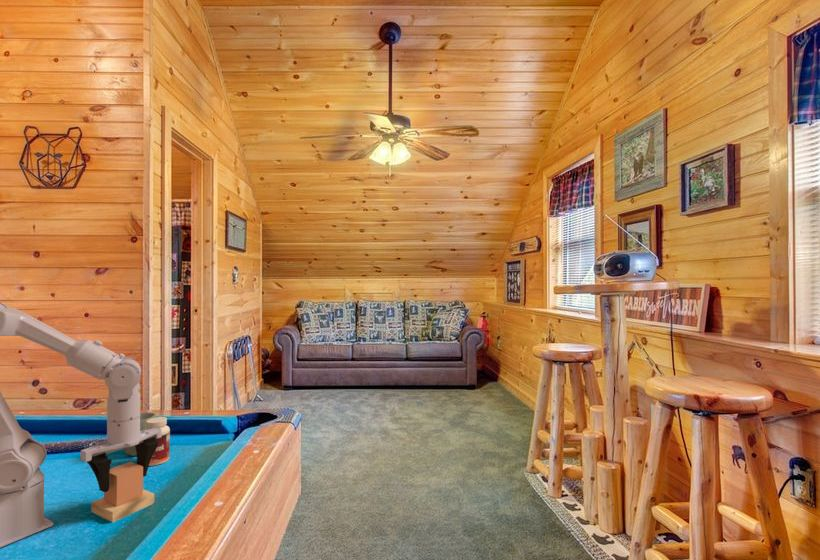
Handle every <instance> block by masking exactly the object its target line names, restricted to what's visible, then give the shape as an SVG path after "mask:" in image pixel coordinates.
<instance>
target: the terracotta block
mask: <svg viewBox="0 0 820 560" xmlns="http://www.w3.org/2000/svg"><path fill="white" fill-rule="evenodd" d="M143 489H144V477H143V466H140V465H138V464H137V463H135V462H132V461H129V462H126V463H123V464H120V465H118V466H114V467H110V472H109V491H107V492H103V497H104V500H105V501H107V502H109V503H111V504H113V505H115V506H118V505H121V504H123V503H125V502H128V501H130V500H133V499H135V498H137V497H140V496H142V495H143Z"/></svg>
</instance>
